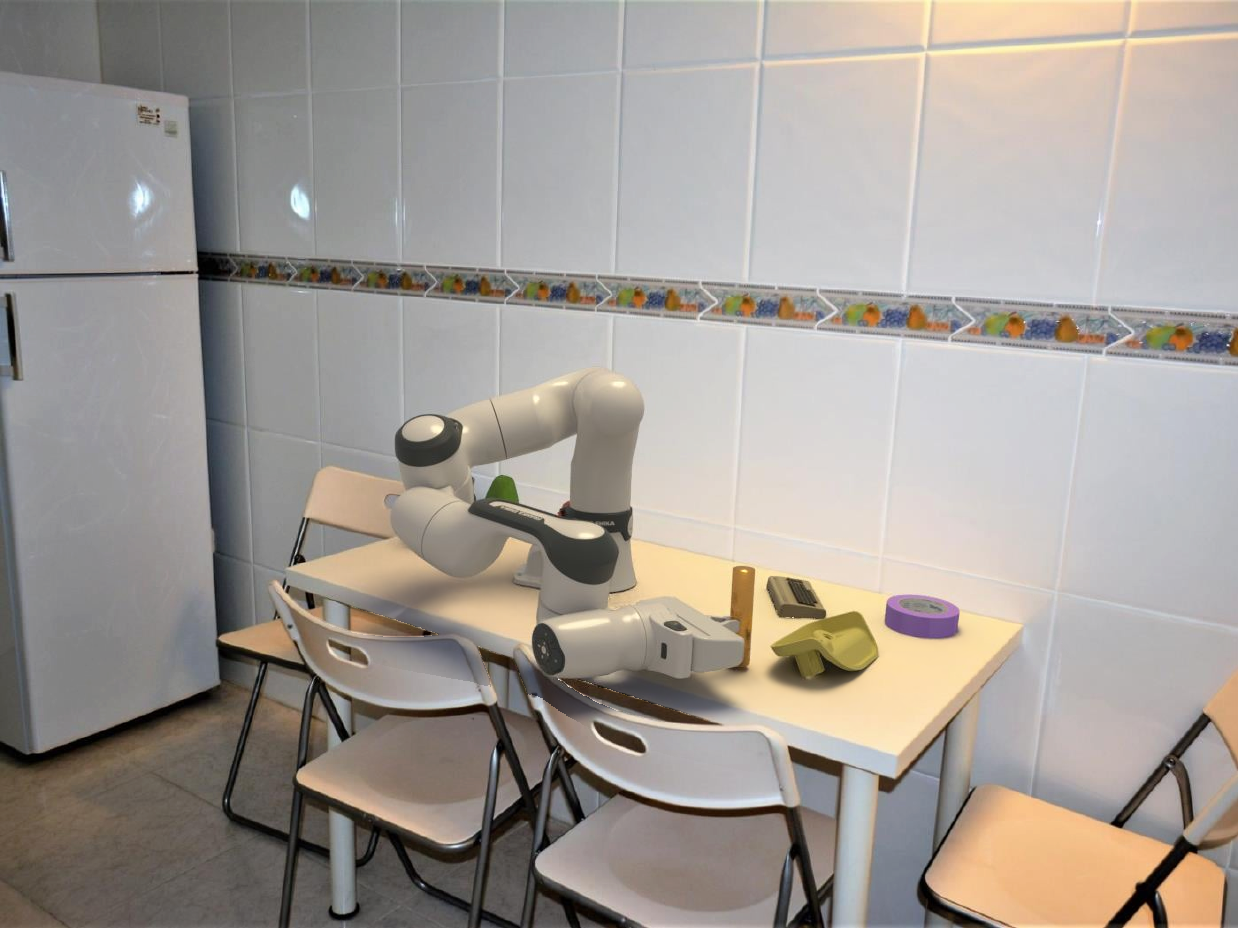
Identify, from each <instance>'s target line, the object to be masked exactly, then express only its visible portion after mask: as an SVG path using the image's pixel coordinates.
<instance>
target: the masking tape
mask: <svg viewBox="0 0 1238 928" xmlns="http://www.w3.org/2000/svg"><path fill="white" fill-rule="evenodd" d="M960 612H961V611H960V609H959V607H958V606H957V605H955V604H954V603H951V602H950V601H947V600H944V599H942V598H937V597H933V596H929V595H922V594H907V593H906V594H896V595H893V596H891V597H889V598H888V599H887V600H886V604H885V615H884V624H885V626H886V627H887V628H889V629H890V630H892V631H894V632H895V633H899V634H902V635H905V636H908V637H914V638H920V639H936V640H937V639H948V638H951V637H953V636H955V635H956V634H958V633H957V632H958V629H959V621H960Z"/></svg>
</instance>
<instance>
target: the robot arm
mask: <svg viewBox="0 0 1238 928" xmlns="http://www.w3.org/2000/svg"><path fill="white" fill-rule="evenodd" d="M644 414H645V402H644V397H643V395H642V393H641V392H640V389H639V387H638V386H637V385H636V384H635V382H634V381H633V380H631V379H630V377H629V378H628V377H627V376H625V375H622V374H620V373H618V372H616V371H613V370H611V369H608V368H606V367H603V366H589V367H586V368H583V369H579V370H577V371H573V372H570V373H567V374H564V375H562V376H558V377H556V378H553V379H550V380H548V381H546V382H543V383H540V384H538V385H535V386H532V387H529V388H525V389H521V390H517V391H514V392H509V393H506V394H502V395H498V396H495V397H491V398H486V399H483V400H480V401H478V402H477V401H476V402H474V403H471V404H468V405H466V406H463V407H461V408H458V409H456V410H454V411H451V412H450V413H447V414H446V415H440V414H434V413H426V414H420V415H416V416H414V417H411V418H409V419H408V420H407V421H405V422H404V423H403V424H402V425H401V426H400V427H399V428H398V430H396V433H395V436H394V453H395V454H394V455H395V457H396V459H397V461H398V462H397V463H398V467H399V468H398V469H399V473H400V478H401V481H402V484H403V487H404V490H405V491H404V492H402V493H401V494H400V495H399V496H398V497H397V498H396V499H395V501H394V503H393V505H392V507H391V511H390V514H389V515H390V516H389V518H390V519H389V521H390V527H391V529H392V532H393V533H394V534H395V535H396V537H397V538H398V539H399V540H400V541H401V542H402V543H403V544H404V545H405V546H406V547H407V548H408V549H409V550H410V551H411V552H413V553H414V555H416V556H417V557H418V558H420V559H422V560H423V561H424V562H426V563H427V564H428V565H430V566H432V567H433V568H435V569H437V570H438V571H439V572H441V573H443V574H446V575H448V576H451V577H455V578H457V579H458V578H459V579H461V578H463V579H464V578H471V577H473V576H476V575H479V574H480V573H482V572H484V571H486V570H487V569H488V568H490V567H491V566H492V565H493V564H494V563H495V562H496V560H497V559H499V557H500V555H501V554H502V552H503V550H504V547H505V545H506V543H507V542H508V539H509V538H512V539H515V540H518V541H520V542H524V543H526V544H530V545H531V547H530V548H529V551H528V554H527V558H526V562H525V564H522V565H521V566H519V567H518V568H517V569H516V570H515V571H514V573H513V582H514V583H515V584H516V585H520V586H526V587H531V588H537V589H539V594H538V598H537V607H536V614H535V615H536V616H535V619H536V625H535V627H534V628H533V630H532V636H531V647H532V654H533V656H534V658H535V661H536V663H537V665H538V666H539V668H540V670H541V671H542V672H543V673H544V674H545V675H547V676H549V677H551V678H557V679H571V680H572V679H573V680H574V679H586V678H587V679H589V678H595V677H602V676H603V677H604V676H609V675H611V674H613V673H615V672H617V671H631V672H635V671H636V672H638V671H644V670H646V671H649V672H657V673H661V674H663V675H667V676H670V677H672V678H674V679H678V680H681V679H688V678H689V677H690V676H691V673H698V674H699V673H700V674H702V673H703V674H704V673H710V672H716V671H721V670H725V669H726V670H727V669H730V668H731V669H732V668H736V666H738V665H739V664H740V663H741V662H742V661H743V657H744V639H743V638H742V637H741V636H739V635H737V634H736V633H737V632H738V631H739V626H740V622H739V621H738V620H736V619H734V618H733V617H731V616H730V615H725V616H719V615H709V614H704V613H702V612H701V611H699V610H697V609H696V608H694V607H693V606H691V605H689V604H687V603H686V602H684V601H682V600H681V599H679V598H677V597H676V596H670V595H666V596H658V597H657V596H656V597H652V598H648V599H642V600H640V601H637V602H635V604H630V605H629V604H628V605H623V606H620V607H619V608H617V609H613V610H612V609H611V608H610V607H609V606H608V603H609V595H610V593H614V592H616V593H617V592H621V591H626V590H629V589H631V588H633V587H634V586H635V585H637V583H638V581H637V578H636V573H635V570H634V562H633V555H632V545H631V538H632V536H633V529H634V528H633V527H634V515H633V513H634V511H633V506H632V505H631V501H632V500H631V499H632V497H631V496H632V473H633V463H634V462H633V461H634V457H635V456H634V455H635V451H636V447H637V441H638V436H639V431H640V424H641V422H642V420H643V418H644V416H645V415H644ZM575 435H576V439H575V445H574V451H573V454H572V455H573V456H572V457H571V458H572V459H571V461H570V473H569V474H570V476H569V477H570V478H569V480H570V482H569V500H567V501H566V502H564V503H562V506H561V508H559V510H558V512H557V513H556V514H555V513H552V512H548V511H547V510H546V511H545V510H542V509H540V508H535V507H533V506H529V505H526V504H524V503H523V504H522V503H520V502H519V503H517V502H513V501H509V500H505V499H500V498H480V499H477V498H476V494H475V492H474V490H475V489H474V490H473V482H472V477H473V476H472V471H471V469H472V468H474V467H477V466H485V465H490V464H494V463H499V462H502V461H506V460H510V459H513V458H517V457H521V456H524V455H525V456H526V455H529V454H531V453H536V452H538V451H543V450H546V449H549V448H551V447H553V446H554V445H555V444H556V445H557V443H560V442H562V441H564V440H567V439H569V438H571V437H574V436H575Z"/></svg>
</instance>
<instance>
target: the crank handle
mask: <svg viewBox="0 0 1238 928" xmlns="http://www.w3.org/2000/svg"><path fill="white" fill-rule="evenodd" d="M731 576H732V577H731V593H730V594H731V595H730V597H731V598H730V612H729V613H730V614H729V616H731V617H733V618H734V619H736V620H738V621H739V622H740V626H739V631H738V632H737V633H736V634H737V635H739V636H741V637H742V638H743V639H744V657H743V661H742V662H741V663H740V664H739V665H738V666H735V668H736V667H738V668H744V667H748V666H750V663H751V662H750V661H751V648H752V630H753V629H752V628H753V613H754V612H753V610H754V600H755V599H754V597H755V583H756V580H755V579H756V568H755V567H752V566H748V565H736V566H734V567H732V575H731Z"/></svg>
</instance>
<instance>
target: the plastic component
mask: <svg viewBox="0 0 1238 928" xmlns="http://www.w3.org/2000/svg"><path fill="white" fill-rule="evenodd" d="M770 648H771V650H772V651H773V653H774V654H775V655H776V656H777V657H778V658H779V657H781V658H783V657H788V658H790V659H794V658H795V661H796V664H797V666H798V667H797V668H798V669H799V672H800V675H801V678H808V677H811V676H816V675H818V674H822V673H823V672H824V671H826V670H825V667H824V663H823V661H822V660H823V659H822V657H821V655H822V656H823V657H824V658H825V660H826V661H829V662H831V663H832V664H834V665H835V666H837V667H838V668H840V669H842V670H845V671H849V672H855V671H860V670H863V669H864V668H866V667H868V665H870V664H871V663H872V662H873V661H875V660H876V659H877V658H878V657H879V654H880V653H879V647H878V643H877V642H876V639H875V637H874V635H873V633H872V630H871V629H870V627H869V625H868V624H867V621H866V619H865V618H864V616H863V614H862V613H861V612H859V611H858V610H851V611H849V612H845V613H841V614H837V615H833V616H829V617H825V619H817V620H814V621H811V622H808V623H806V624H804V625H802V626H800V627H799V628H797V629H795V630H793V631H792V632H790V633H789V634H787V635H784V636H783V637H781V638H780V639H779V640H776V641H775V642H774V643H772V644H771V645H770ZM820 653H821V654H820Z"/></svg>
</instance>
